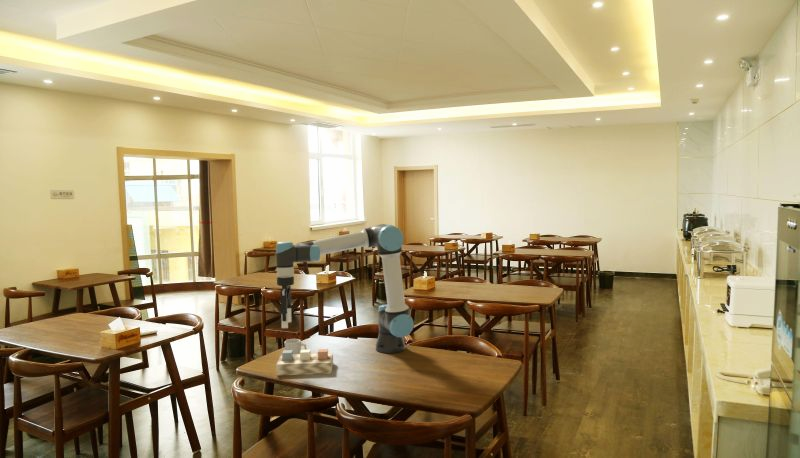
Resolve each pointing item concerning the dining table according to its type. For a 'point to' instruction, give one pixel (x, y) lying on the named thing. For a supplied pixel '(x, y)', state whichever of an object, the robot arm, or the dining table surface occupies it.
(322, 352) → the key terracotta
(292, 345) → the cup
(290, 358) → the key slate
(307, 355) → the key cream
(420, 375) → the dining table surface
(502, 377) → the dining table surface
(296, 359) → the console
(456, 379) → the dining table surface
